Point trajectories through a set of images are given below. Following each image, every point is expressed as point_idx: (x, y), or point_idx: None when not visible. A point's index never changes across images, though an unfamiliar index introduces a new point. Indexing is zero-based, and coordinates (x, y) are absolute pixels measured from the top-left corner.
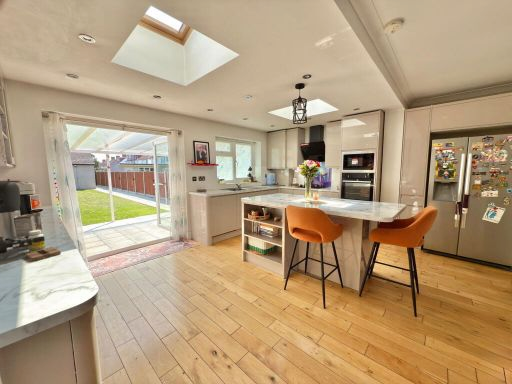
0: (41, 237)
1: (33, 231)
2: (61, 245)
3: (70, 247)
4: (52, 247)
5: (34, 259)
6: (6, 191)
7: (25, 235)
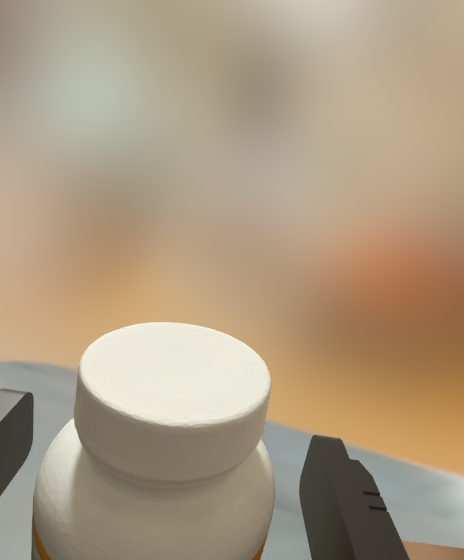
0: (345, 465)
1: (187, 379)
2: None
3: (368, 461)
4: None
5: None
6: None
7: None
